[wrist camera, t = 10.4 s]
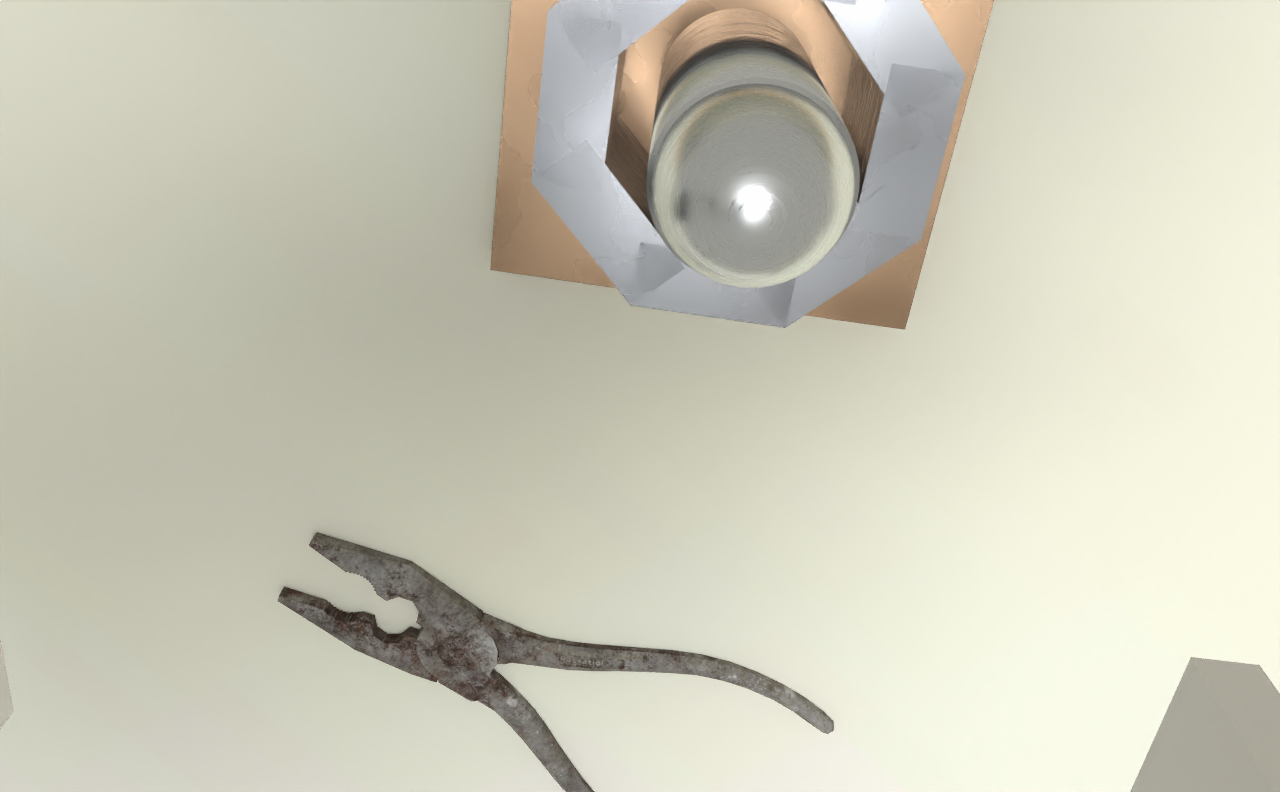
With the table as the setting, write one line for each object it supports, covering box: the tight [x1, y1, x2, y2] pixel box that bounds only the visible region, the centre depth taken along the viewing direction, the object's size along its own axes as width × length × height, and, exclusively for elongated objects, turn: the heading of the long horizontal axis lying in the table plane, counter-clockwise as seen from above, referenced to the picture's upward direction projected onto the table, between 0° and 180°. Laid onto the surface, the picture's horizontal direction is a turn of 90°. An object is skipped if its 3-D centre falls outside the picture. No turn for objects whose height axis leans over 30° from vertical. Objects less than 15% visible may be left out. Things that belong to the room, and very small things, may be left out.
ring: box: [531, 0, 966, 328], centre depth 26 cm, size 9×9×5 cm
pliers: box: [278, 533, 834, 792], centre depth 40 cm, size 10×1×20 cm
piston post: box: [490, 0, 994, 329], centre depth 24 cm, size 12×12×12 cm
